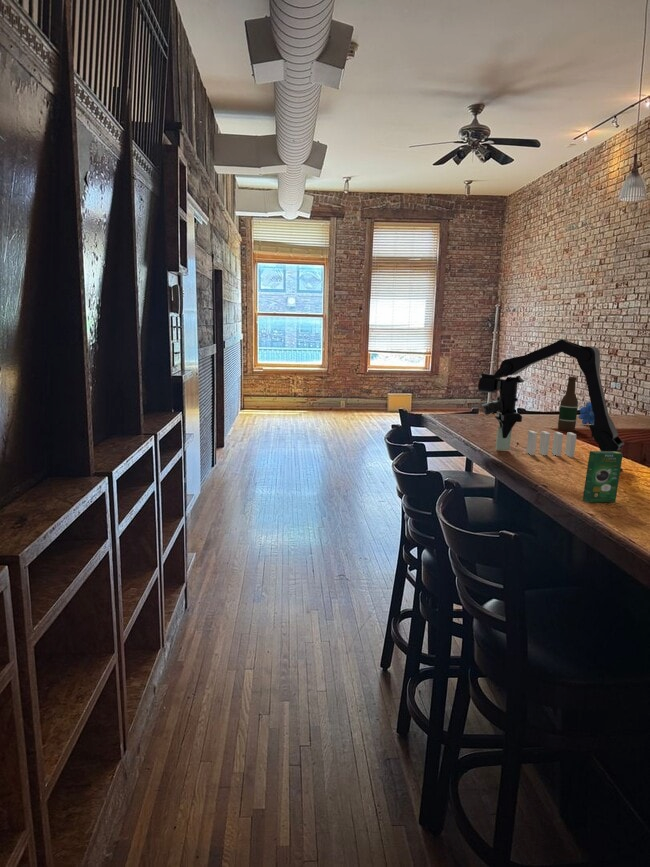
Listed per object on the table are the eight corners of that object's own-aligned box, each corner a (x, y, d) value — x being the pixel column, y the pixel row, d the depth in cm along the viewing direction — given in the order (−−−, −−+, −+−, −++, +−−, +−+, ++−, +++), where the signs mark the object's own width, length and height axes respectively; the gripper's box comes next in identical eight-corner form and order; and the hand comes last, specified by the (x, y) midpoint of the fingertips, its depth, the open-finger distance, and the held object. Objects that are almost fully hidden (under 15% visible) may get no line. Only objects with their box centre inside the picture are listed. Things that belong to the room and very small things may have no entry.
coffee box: (609, 499, 142) (615, 450, 140) (616, 502, 139) (624, 452, 137) (581, 500, 140) (588, 450, 138) (589, 503, 138) (595, 452, 135)
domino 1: (508, 449, 198) (510, 427, 196) (509, 450, 196) (511, 428, 195) (495, 448, 198) (497, 427, 197) (496, 449, 197) (498, 427, 195)
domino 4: (560, 456, 191) (563, 434, 190) (556, 456, 191) (558, 434, 190) (556, 453, 196) (558, 431, 194) (551, 453, 196) (554, 431, 194)
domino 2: (534, 455, 192) (537, 433, 190) (530, 455, 192) (532, 432, 190) (530, 452, 196) (533, 430, 195) (526, 452, 196) (528, 430, 195)
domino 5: (573, 457, 191) (576, 434, 189) (569, 457, 191) (572, 434, 189) (568, 454, 195) (571, 432, 194) (564, 454, 195) (567, 432, 194)
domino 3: (547, 456, 191) (550, 433, 190) (543, 455, 191) (545, 433, 190) (543, 453, 196) (545, 431, 194) (538, 452, 196) (541, 431, 194)
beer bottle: (553, 429, 248) (559, 376, 244) (561, 427, 253) (567, 375, 249) (570, 431, 243) (577, 377, 238) (578, 430, 248) (585, 377, 243)
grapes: (604, 425, 264) (607, 400, 262) (604, 427, 258) (607, 402, 256) (577, 422, 269) (580, 398, 267) (577, 424, 263) (580, 400, 261)
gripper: (479, 390, 203) (475, 431, 206) (491, 396, 185) (487, 441, 188) (509, 391, 202) (505, 433, 205) (524, 398, 184) (519, 443, 187)
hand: (503, 437), depth 196 cm, fingers closed on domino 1, 2 cm apart
